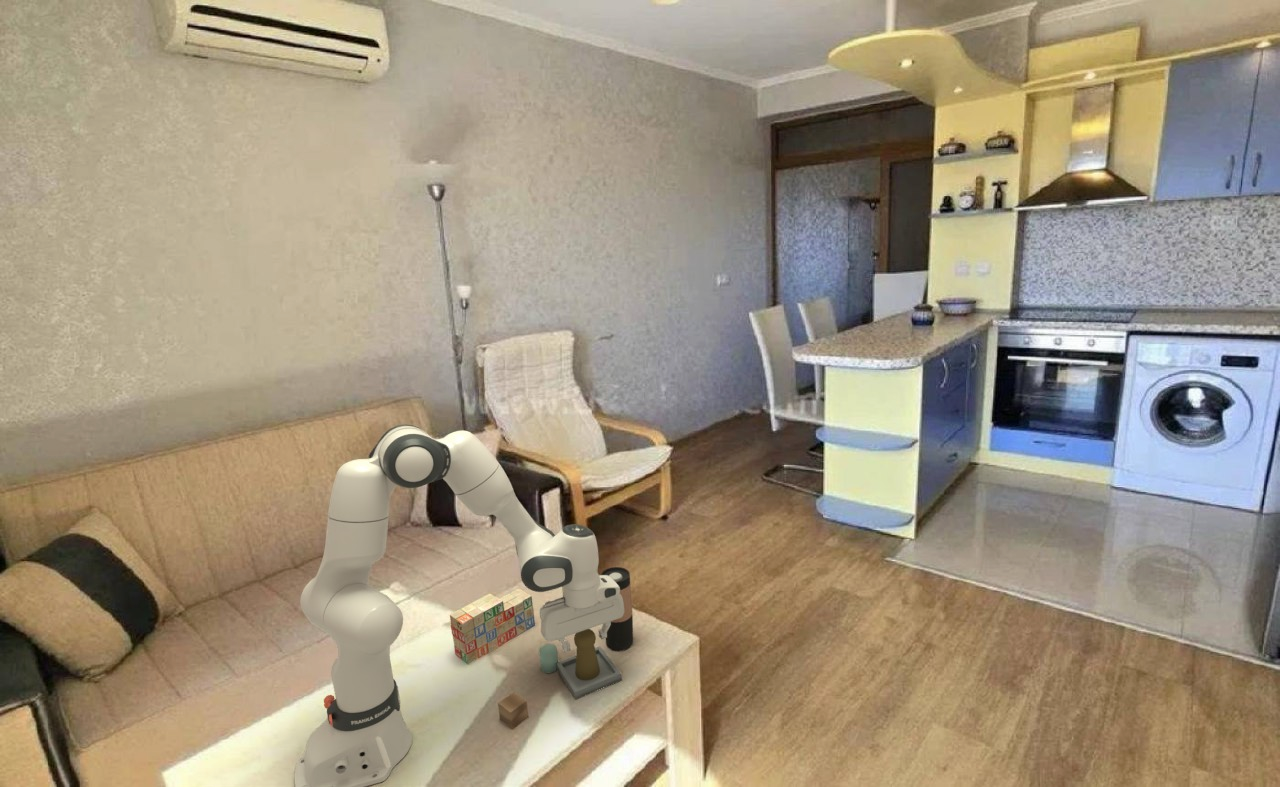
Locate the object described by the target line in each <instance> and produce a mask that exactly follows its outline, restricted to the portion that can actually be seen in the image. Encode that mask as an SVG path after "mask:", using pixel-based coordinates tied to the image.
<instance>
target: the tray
mask: <svg viewBox="0 0 1280 787" xmlns="http://www.w3.org/2000/svg"><path fill="white" fill-rule="evenodd" d="M595 651H596V655H597V660H598V664H599V668H600V673H599V675H598V676H597V677H596V678H594V679H592V680H580V679H579V678H577V677H576V674H575V668H576V654H575V655H573V656H570V657H568V658H565V659H562V660H560V661H558V662H557V663H556V668H557V670H556V671H557V673H558V675H560V678H561V679H562V681H563V682H564V684H565V686H566V687H567V688H568V690H569V692H570V693H571V695H572V696H573V698H574V699H575V700H579V699H581V698H583V697H585V695H586V696H588V695H590V694H592V693H595V692H598V691H600V690H602V689H604V688H603V687H605V688H607V687H610V686H612V685H614V684H616V682H617V683H619V682H622V681H623V679H622V672H621V671H620V669H619V668H618V667H617V666H616V664H615V663H614V662H613V661H612V659H611V658H610V657H609V656H608V654H607V653H606V652H605V650H604V649H603V648H602V646H601V645H600V646H599V645H598V646H595ZM621 680H622V681H621ZM613 683H614V684H613ZM611 684H612V685H611ZM609 685H610V686H609ZM606 686H607V687H606ZM601 688H602V689H601ZM599 689H600V690H599ZM597 690H598V691H597Z"/></svg>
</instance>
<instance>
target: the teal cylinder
mask: <svg viewBox="0 0 1280 787" xmlns="http://www.w3.org/2000/svg"><path fill="white" fill-rule="evenodd" d="M538 654H539V662H540V670H541V671H542V673H545V674H546V673H547V674H551V673H553V672H555V671H557V668H556V663H557V662H559V656H558V655H559V654H558V647H557V645H556V644H553V643H547V644H543V645H542V646H541V647H540V648H539V649H538Z"/></svg>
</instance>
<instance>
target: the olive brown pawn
mask: <svg viewBox="0 0 1280 787" xmlns="http://www.w3.org/2000/svg"><path fill="white" fill-rule="evenodd" d="M596 637H597V636H596V633H595V632H594V630H592V628H589V629H587V630H584V631H581V632H578V633H575V634H574V637H573V642H574V645H575V647H576V654H575V655H576V668H575V674H576V677H577V678H579V679H580V680H592V679H594V678H596V677H597V676H598V675H599V673H600V668H599V664H598V660H597V655H596V651H595V648H596V646H595V643H596V640H597V638H596Z"/></svg>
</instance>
